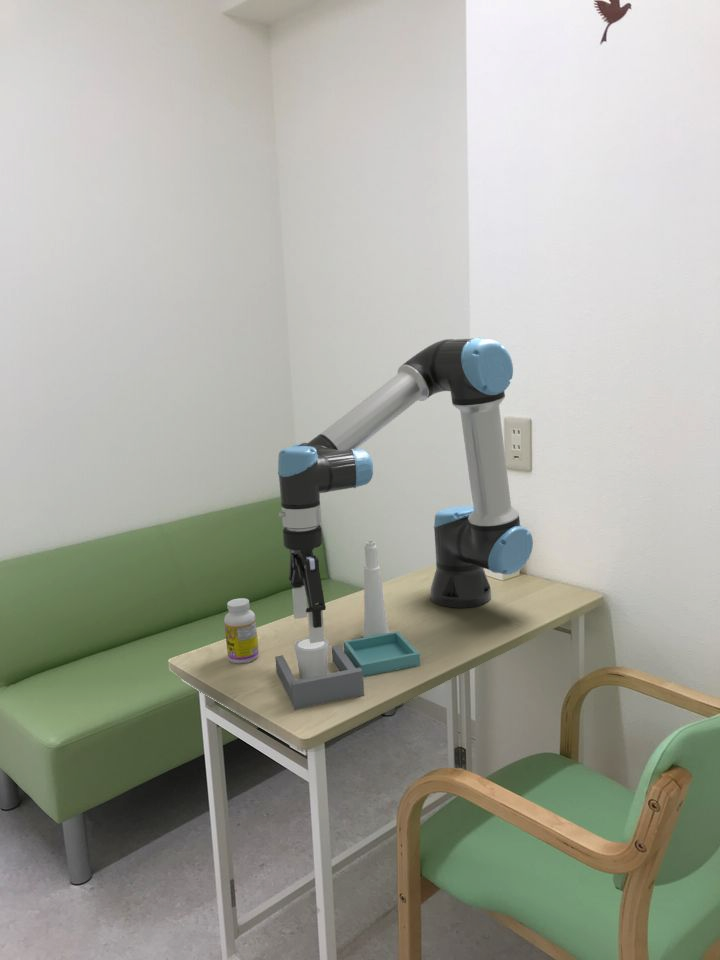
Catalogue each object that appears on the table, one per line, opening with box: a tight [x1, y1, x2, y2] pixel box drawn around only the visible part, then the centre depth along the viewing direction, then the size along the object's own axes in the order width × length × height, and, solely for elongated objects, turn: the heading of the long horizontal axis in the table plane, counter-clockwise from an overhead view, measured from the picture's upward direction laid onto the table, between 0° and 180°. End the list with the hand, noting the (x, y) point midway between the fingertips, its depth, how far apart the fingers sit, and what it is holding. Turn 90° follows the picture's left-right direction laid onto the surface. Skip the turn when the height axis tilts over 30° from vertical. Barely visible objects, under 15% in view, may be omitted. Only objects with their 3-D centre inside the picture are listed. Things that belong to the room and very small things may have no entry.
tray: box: [342, 630, 421, 677], centre depth 161 cm, size 13×13×2 cm
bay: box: [274, 644, 365, 710], centre depth 151 cm, size 17×14×5 cm
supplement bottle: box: [223, 597, 260, 664], centre depth 164 cm, size 7×7×13 cm
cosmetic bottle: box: [362, 540, 390, 638], centre depth 171 cm, size 6×6×22 cm
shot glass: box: [294, 636, 329, 679], centre depth 155 cm, size 7×7×7 cm
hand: (308, 629), depth 153 cm, fingers open, 13 cm apart
